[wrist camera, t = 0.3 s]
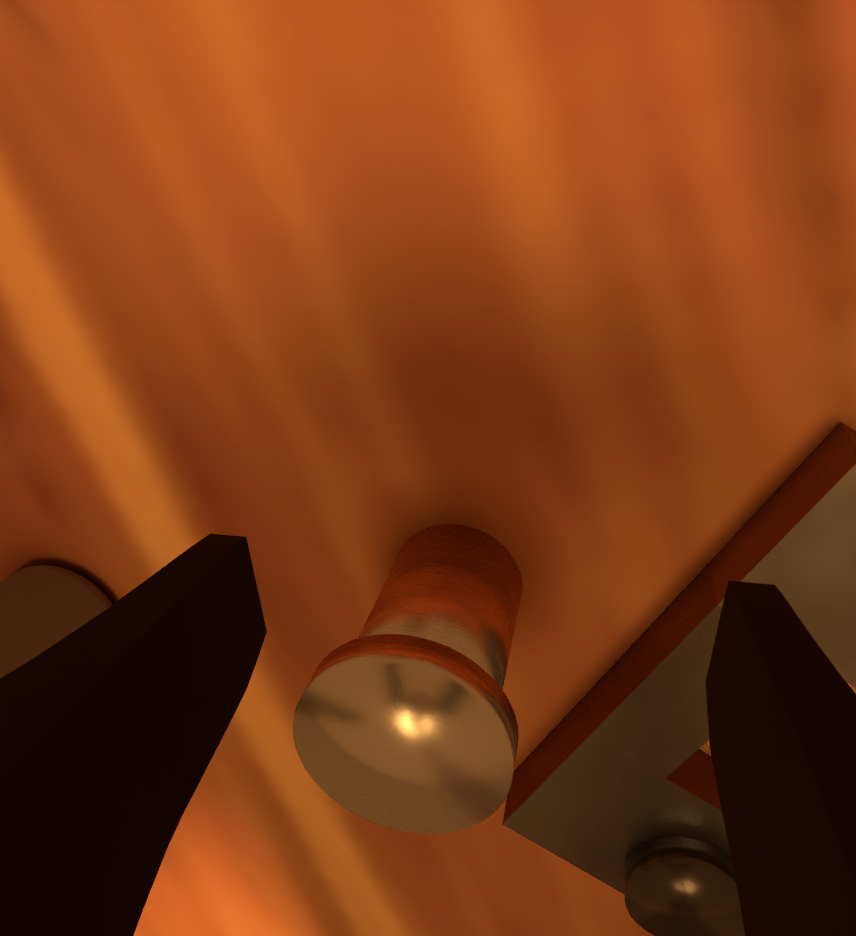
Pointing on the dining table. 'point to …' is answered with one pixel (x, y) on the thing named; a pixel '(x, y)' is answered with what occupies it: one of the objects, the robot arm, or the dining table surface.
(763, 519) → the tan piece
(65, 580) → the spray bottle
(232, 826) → the dining table surface
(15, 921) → the robot arm
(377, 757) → the pin
